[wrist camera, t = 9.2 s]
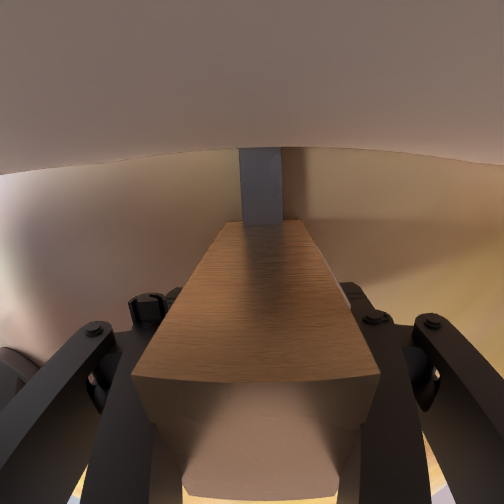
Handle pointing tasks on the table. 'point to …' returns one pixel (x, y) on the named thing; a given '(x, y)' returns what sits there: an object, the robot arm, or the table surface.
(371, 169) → the table surface
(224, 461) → the hook tool
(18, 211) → the table surface
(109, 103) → the cabinet
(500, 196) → the table surface
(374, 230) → the table surface
